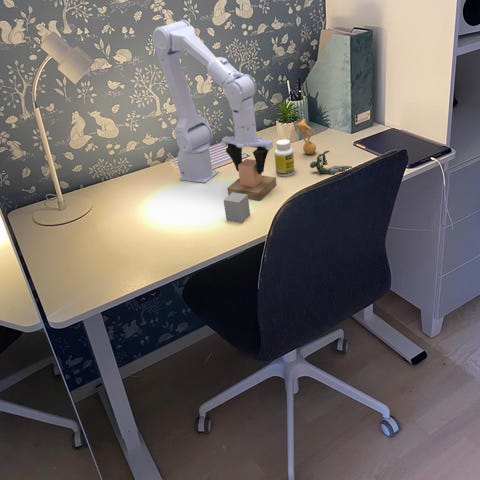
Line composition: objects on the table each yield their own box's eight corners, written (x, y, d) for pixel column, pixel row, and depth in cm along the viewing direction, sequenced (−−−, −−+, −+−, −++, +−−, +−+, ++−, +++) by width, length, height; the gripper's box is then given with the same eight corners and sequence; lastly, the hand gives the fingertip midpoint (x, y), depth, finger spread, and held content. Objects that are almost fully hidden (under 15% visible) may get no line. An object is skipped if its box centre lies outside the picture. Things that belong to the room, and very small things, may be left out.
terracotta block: (240, 185, 151) (237, 165, 148) (248, 178, 154) (246, 158, 151) (254, 187, 149) (252, 166, 146) (262, 180, 152) (260, 160, 149)
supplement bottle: (288, 178, 157) (285, 146, 152) (272, 175, 160) (269, 143, 155) (298, 171, 160) (296, 139, 155) (282, 168, 163) (280, 137, 158)
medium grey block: (226, 220, 140) (223, 200, 136) (235, 212, 143) (232, 192, 140) (241, 223, 137) (238, 202, 134) (250, 215, 141) (247, 194, 138)
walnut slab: (228, 197, 152) (227, 188, 150) (246, 182, 159) (245, 173, 157) (260, 202, 147) (258, 192, 145) (276, 186, 154) (275, 177, 153)
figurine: (324, 154, 169) (322, 116, 162) (312, 161, 165) (310, 123, 159) (303, 149, 174) (301, 112, 168) (291, 155, 171) (288, 118, 164)
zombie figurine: (361, 156, 148) (307, 155, 153) (361, 178, 152) (309, 177, 157) (364, 147, 152) (311, 147, 157) (364, 170, 156) (313, 169, 161)
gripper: (213, 127, 143) (220, 174, 150) (261, 131, 136) (267, 180, 143) (227, 118, 148) (233, 164, 155) (274, 121, 141) (278, 169, 148)
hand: (250, 171), depth 150 cm, fingers open, 6 cm apart
